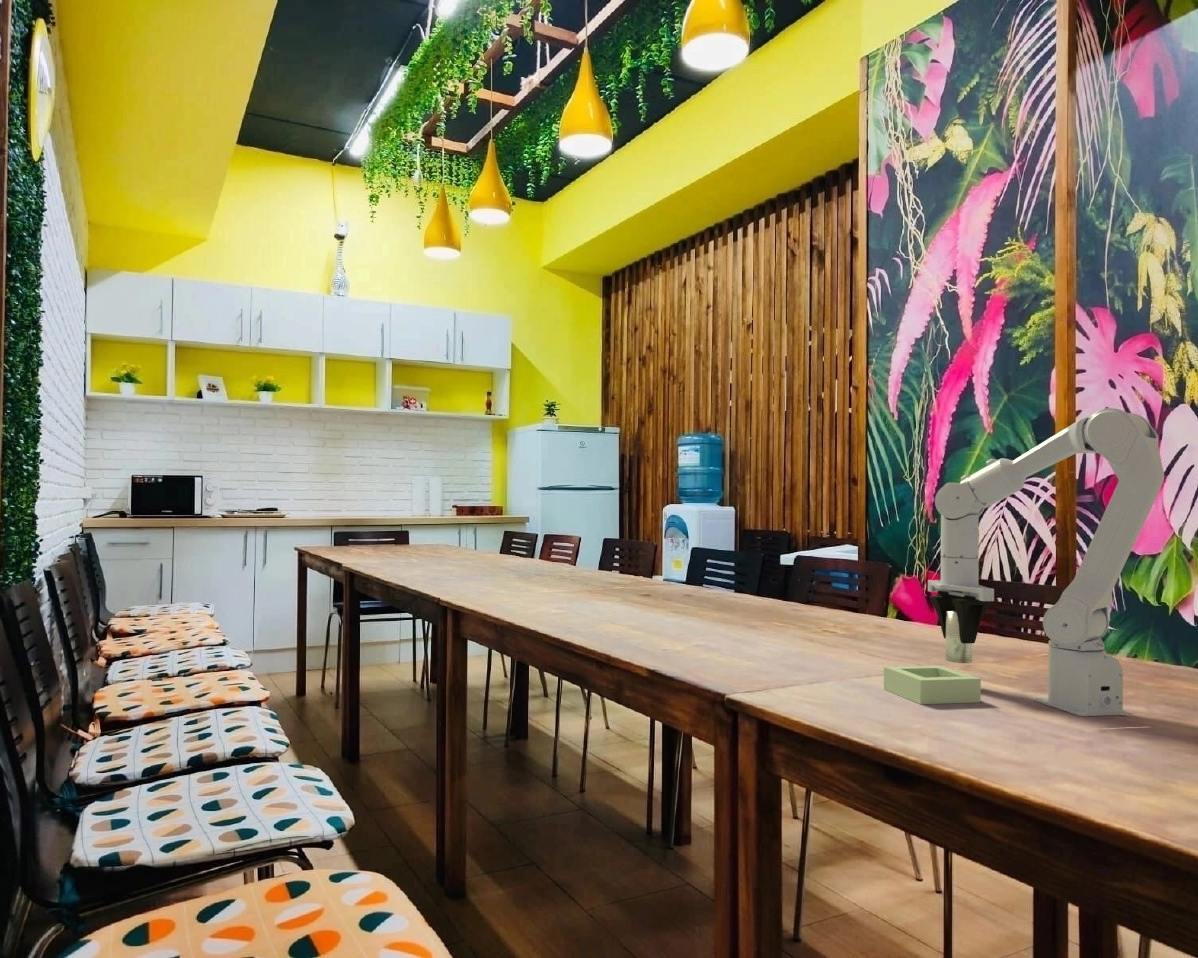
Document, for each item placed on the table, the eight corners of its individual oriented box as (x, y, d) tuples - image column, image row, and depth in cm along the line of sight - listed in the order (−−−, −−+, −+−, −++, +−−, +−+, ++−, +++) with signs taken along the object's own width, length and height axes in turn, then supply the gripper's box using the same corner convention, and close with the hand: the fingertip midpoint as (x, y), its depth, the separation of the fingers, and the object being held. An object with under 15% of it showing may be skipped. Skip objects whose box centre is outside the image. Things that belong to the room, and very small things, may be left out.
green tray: (980, 702, 126) (980, 678, 126) (920, 704, 124) (920, 680, 124) (939, 687, 136) (940, 665, 136) (883, 688, 134) (883, 666, 134)
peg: (977, 662, 136) (977, 613, 136) (955, 663, 135) (955, 613, 135) (962, 658, 140) (962, 609, 140) (940, 658, 139) (940, 610, 139)
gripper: (912, 554, 144) (911, 634, 144) (965, 560, 130) (965, 648, 130) (948, 554, 146) (948, 633, 145) (1006, 560, 132) (1005, 647, 131)
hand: (959, 640), depth 138 cm, fingers closed on peg, 4 cm apart
